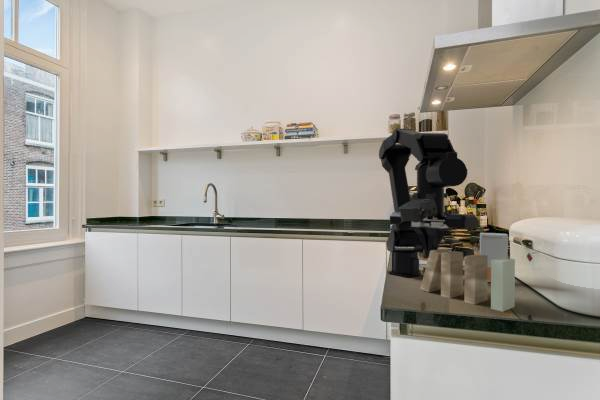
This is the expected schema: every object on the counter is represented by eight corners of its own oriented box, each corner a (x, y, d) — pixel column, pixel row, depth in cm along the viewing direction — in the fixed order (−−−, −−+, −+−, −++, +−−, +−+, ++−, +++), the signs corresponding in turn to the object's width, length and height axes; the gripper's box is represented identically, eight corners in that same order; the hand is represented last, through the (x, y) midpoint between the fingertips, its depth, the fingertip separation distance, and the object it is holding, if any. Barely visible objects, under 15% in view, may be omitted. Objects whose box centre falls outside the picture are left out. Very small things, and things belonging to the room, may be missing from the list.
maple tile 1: (420, 288, 73) (430, 250, 71) (433, 285, 76) (443, 248, 74) (428, 292, 71) (438, 254, 70) (441, 289, 74) (451, 252, 72)
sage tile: (514, 306, 62) (514, 259, 62) (502, 311, 59) (502, 261, 59) (503, 304, 64) (503, 257, 64) (490, 308, 61) (491, 260, 61)
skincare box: (479, 281, 82) (479, 233, 82) (479, 278, 86) (479, 232, 86) (508, 284, 79) (508, 234, 79) (506, 281, 83) (506, 233, 83)
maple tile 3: (464, 301, 65) (464, 256, 65) (477, 297, 68) (477, 254, 68) (474, 304, 63) (474, 257, 63) (487, 300, 66) (487, 255, 66)
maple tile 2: (440, 295, 69) (441, 253, 69) (453, 292, 72) (454, 251, 72) (450, 298, 67) (450, 254, 67) (462, 294, 70) (463, 252, 70)
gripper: (374, 188, 77) (373, 255, 77) (449, 185, 62) (449, 268, 62) (404, 190, 83) (404, 251, 83) (479, 187, 68) (479, 263, 68)
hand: (429, 258), depth 74 cm, fingers closed
